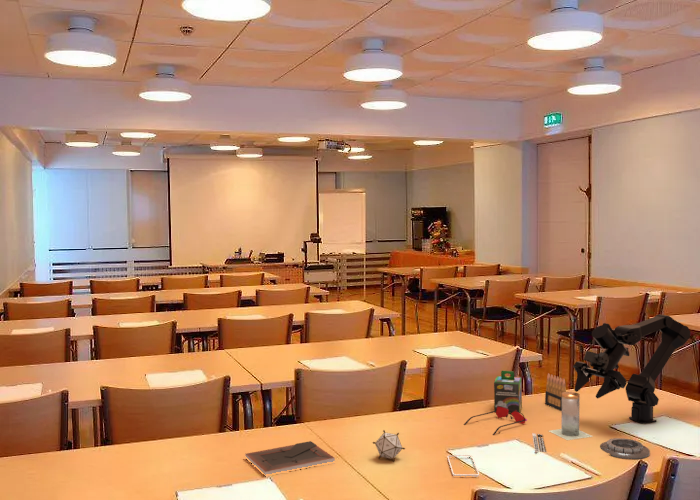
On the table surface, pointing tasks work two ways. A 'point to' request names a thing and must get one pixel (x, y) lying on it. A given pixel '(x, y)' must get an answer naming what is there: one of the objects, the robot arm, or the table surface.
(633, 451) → the hub flange
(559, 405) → the ammunition clip
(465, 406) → the table surface
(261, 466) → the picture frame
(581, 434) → the stand pad
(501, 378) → the chalk box
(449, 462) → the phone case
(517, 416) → the glasses
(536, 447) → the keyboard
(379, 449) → the game die
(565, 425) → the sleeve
